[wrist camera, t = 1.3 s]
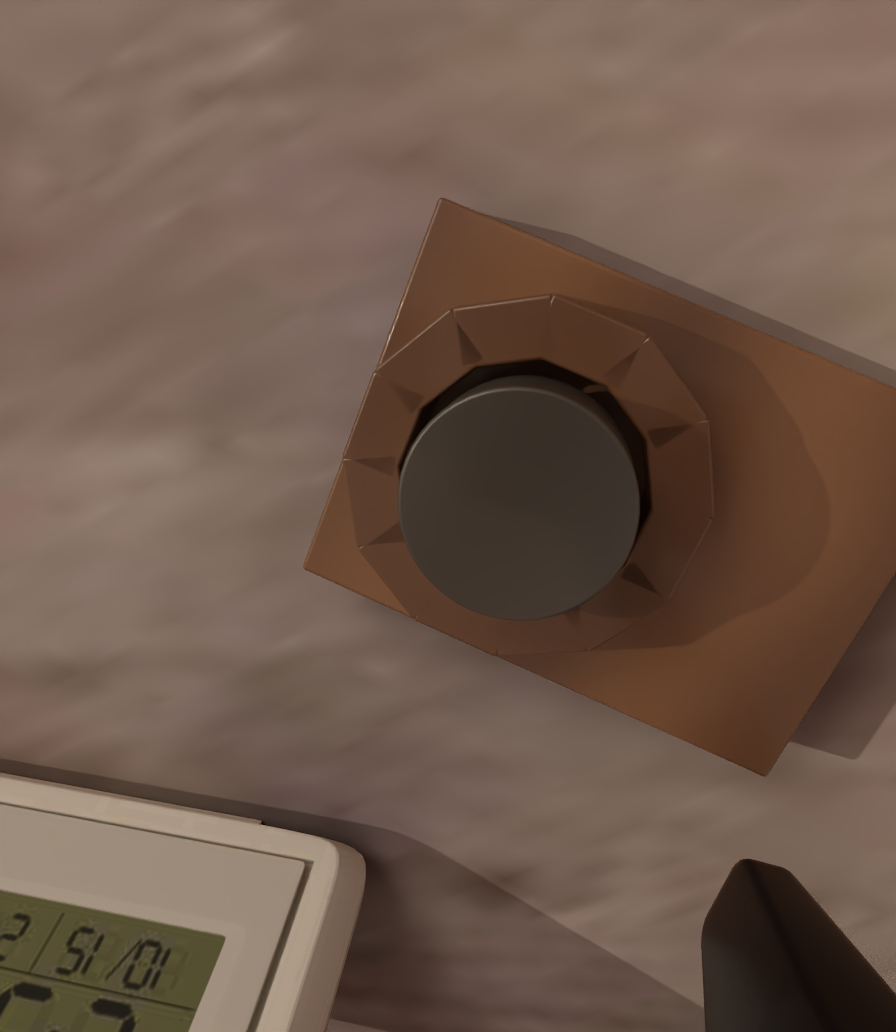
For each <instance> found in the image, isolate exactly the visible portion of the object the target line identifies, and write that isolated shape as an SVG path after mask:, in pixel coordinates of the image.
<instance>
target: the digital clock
mask: <svg viewBox="0 0 896 1032" xmlns="http://www.w3.org/2000/svg"><path fill="white" fill-rule="evenodd" d="M365 881H366V864H365V861H364V859H363V856H362V855H361V854H360V853H359V852H358V851H357V850H355V849H354V848H352V847H350V846H348V845H346V844H344V843H341V842H337V841H334V840H330V839H326V838H323V837H319V836H314V835H309V834H304V833H299V832H295V831H290V830H285V829H281V828H276V827H271V826H266V825H262V821H261V820H256V819H250V818H245V817H240V816H234V815H229V814H223V813H218V812H212V811H207V810H201V809H196V808H190V807H185V806H180V805H174V804H169V803H163V802H158V801H152V800H147V799H141V798H136V797H130V796H125V795H120V794H114V793H109V792H103V791H98V790H92V789H87V788H81V787H76V786H70V785H65V784H60V783H54V782H49V781H43V780H38V779H32V778H27V777H21V776H16V775H10V774H5V773H0V1032H326V1029H327V1025H328V1022H329V1018H330V1015H331V1011H332V1008H333V1004H334V1000H335V997H336V993H337V990H338V986H339V983H340V979H341V976H342V972H343V968H344V965H345V961H346V958H347V954H348V951H349V947H350V943H351V940H352V936H353V933H354V929H355V926H356V922H357V919H358V915H359V911H360V908H361V903H362V899H363V895H364V889H365Z"/></svg>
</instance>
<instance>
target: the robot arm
mask: <svg viewBox="0 0 896 1032" xmlns="http://www.w3.org/2000/svg"><path fill="white" fill-rule="evenodd" d="M701 950H702V970H703V990H704V1010H705V1031H706V1032H896V994H895V992H894V991H893V990H892V989H891V988H890V987H889V985H888V984H887V983H886V982H885V981H884V980H883V979H882V977H881V976H880V975H879V974H878V973H877V972H876V970H875V969H874V968H873V967H872V966H871V965H870V963H869V962H868V961H867V960H866V959H865V958H864V956H863V955H862V954H861V953H860V952H859V951H858V949H857V948H856V947H855V946H854V945H853V944H852V943H851V941H850V940H849V939H848V938H847V937H846V936H845V934H844V933H843V932H842V931H841V930H840V929H839V927H838V926H837V925H836V924H835V923H834V922H833V920H832V919H831V918H830V917H829V916H828V915H827V913H826V912H825V911H824V910H823V909H822V908H821V906H820V905H819V904H818V903H817V902H816V901H815V900H814V898H813V897H812V896H811V895H810V894H809V893H808V891H807V890H806V889H805V888H804V887H803V886H802V884H801V883H800V882H799V881H798V880H797V879H796V877H795V876H794V875H793V874H792V873H791V872H789V871H788V870H787V869H784V868H782V867H780V866H776V865H772V864H768V863H764V862H760V861H756V860H752V859H742V860H740V861H739V862H737V863H736V864H735V866H734V867H733V868H732V870H731V872H730V874H729V875H728V877H727V879H726V881H725V883H724V885H723V886H722V888H721V890H720V892H719V894H718V896H717V897H716V899H715V901H714V903H713V905H712V907H711V908H710V910H709V912H708V914H707V916H706V918H705V922H704V925H703V930H702V939H701Z"/></svg>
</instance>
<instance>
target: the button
mask: <svg viewBox="0 0 896 1032" xmlns="http://www.w3.org/2000/svg"><path fill="white" fill-rule="evenodd" d="M397 506H398V517H399V522H400V527H401V531H402V535H403V537H404V540H405V543H406V546H407V548H408V550H409V552H410V554H411V556H412V558H413V560H414V561H415V563H416V564H417V566H418V567H419V569H420V570H421V572H422V573H423V574H424V575H425V576H426V577H427V579H428V580H429V581H430V582H431V583H432V584H433V585H434V586H435V587H436V588H437V589H438V590H440V591H441V592H442V593H443V594H444V595H446V596H447V597H449V598H450V599H451V600H453V601H454V602H456V603H458V604H460V605H461V606H463V607H465V608H467V609H469V610H471V611H474V612H477V613H479V614H482V615H485V616H489V617H493V618H497V619H505V620H513V621H530V620H538V619H545V618H549V617H553V616H557V615H560V614H563V613H565V612H568V611H570V610H573V609H575V608H577V607H579V606H580V605H582V604H584V603H586V602H588V601H589V600H590V599H592V598H593V597H594V596H596V595H597V594H598V593H600V592H601V591H602V590H603V589H604V588H605V587H606V586H607V585H608V584H609V583H610V582H611V581H612V580H613V578H614V577H615V576H616V575H617V573H618V572H619V571H620V569H621V568H622V566H623V564H624V563H625V561H626V559H627V558H628V556H629V553H630V551H631V549H632V546H633V544H634V541H635V537H636V534H637V530H638V524H639V517H640V494H639V487H638V481H637V477H636V473H635V468H634V464H633V460H632V457H631V453H630V450H629V447H628V444H627V442H626V440H625V437H624V435H623V433H622V431H621V430H620V428H619V427H618V425H617V423H616V422H615V420H614V419H613V418H612V417H611V415H610V414H609V413H608V412H607V411H606V409H604V408H603V407H602V406H601V405H600V404H599V403H598V402H597V401H596V400H595V399H593V398H592V397H590V396H589V395H588V394H586V393H585V392H583V391H582V390H580V389H578V388H576V387H574V386H572V385H570V384H567V383H565V382H562V381H559V380H556V379H552V378H547V377H543V376H533V375H516V376H507V377H502V378H497V379H494V380H491V381H488V382H485V383H482V384H480V385H478V386H476V387H474V388H472V389H470V390H469V391H467V392H466V393H464V394H463V395H461V396H460V397H458V398H457V399H456V400H454V401H453V402H452V403H451V404H449V405H448V406H447V407H446V408H444V409H443V410H442V411H441V412H440V413H439V414H437V415H436V416H435V417H434V418H433V419H432V420H431V421H430V422H429V423H428V424H427V425H426V426H425V427H424V429H423V430H422V431H421V432H420V433H419V435H418V436H417V438H416V440H415V441H414V443H413V444H412V446H411V448H410V450H409V452H408V454H407V456H406V458H405V461H404V464H403V467H402V470H401V474H400V479H399V485H398V498H397Z"/></svg>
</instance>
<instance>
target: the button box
mask: <svg viewBox="0 0 896 1032" xmlns="http://www.w3.org/2000/svg"><path fill="white" fill-rule="evenodd" d="M516 375H533V376H543V377H547V378H552V379H556V380H559V381H562V382H565V383H567V384H570V385H572V386H574V387H576V388H578V389H580V390H582V391H583V392H585V393H586V394H588V395H589V396H590V397H592V398H593V399H595V400H596V401H597V402H598V403H599V404H600V405H601V406H602V407H603V408H604V409H606V411H607V412H608V413H609V414H610V415H611V417H612V418H613V419H614V420H615V422H616V423H617V425H618V427H619V428H620V430H621V431H622V433H623V435H624V437H625V440H626V442H627V444H628V447H629V450H630V453H631V457H632V460H633V464H634V468H635V473H636V477H637V481H638V487H639V494H640V517H639V524H638V530H637V534H636V537H635V541H634V544H633V546H632V549H631V551H630V553H629V556H628V558H627V559H626V561H625V563H624V564H623V566H622V568H621V569H620V571H619V572H618V573H617V575H616V576H615V577H614V578H613V580H612V581H611V582H610V583H609V584H608V585H607V586H606V587H605V588H604V589H603V590H602V591H601V592H600V593H598V594H597V595H596V596H594V597H593V598H592V599H590V600H589V601H588V602H586V603H584V604H582V605H580V606H579V607H577V608H575V609H573V610H570V611H568V612H565V613H563V614H560V615H557V616H553V617H549V618H545V619H538V620H530V621H513V620H505V619H497V618H493V617H489V616H485V615H482V614H479V613H477V612H474V611H471V610H469V609H467V608H465V607H463V606H461V605H460V604H458V603H456V602H454V601H453V600H451V599H450V598H449V597H447V596H446V595H444V594H443V593H442V592H441V591H440V590H438V589H437V588H436V587H435V586H434V585H433V584H432V583H431V582H430V581H429V580H428V579H427V577H426V576H425V575H424V574H423V573H422V572H421V570H420V569H419V567H418V566H417V564H416V563H415V561H414V560H413V558H412V556H411V554H410V552H409V550H408V548H407V546H406V543H405V540H404V537H403V535H402V531H401V527H400V522H399V517H398V506H397V498H398V485H399V479H400V474H401V470H402V467H403V464H404V461H405V458H406V456H407V454H408V452H409V450H410V448H411V446H412V444H413V443H414V441H415V440H416V438H417V436H418V435H419V433H420V432H421V431H422V430H423V429H424V427H425V426H426V425H427V424H428V423H429V422H430V421H431V420H432V419H433V418H434V417H435V416H436V415H437V414H439V413H440V412H441V411H442V410H443V409H444V408H446V407H447V406H448V405H449V404H451V403H452V402H453V401H454V400H456V399H457V398H458V397H460V396H461V395H463V394H464V393H466V392H467V391H469V390H470V389H472V388H474V387H476V386H478V385H480V384H482V383H485V382H488V381H491V380H494V379H497V378H502V377H507V376H516ZM304 569H305V570H307V571H310V572H312V573H314V574H316V575H318V576H321V577H323V578H325V579H327V580H330V581H332V582H334V583H336V584H338V585H341V586H343V587H345V588H347V589H349V590H352V591H354V592H356V593H358V594H361V595H363V596H365V597H367V598H369V599H372V600H374V601H376V602H378V603H380V604H383V605H385V606H387V607H389V608H392V609H394V610H396V611H398V612H400V613H403V614H405V615H407V616H409V617H411V618H414V619H415V620H416V621H418V622H420V623H423V624H425V625H427V626H429V627H432V628H434V629H436V630H438V631H440V632H443V633H445V634H447V635H449V636H451V637H454V638H456V639H458V640H460V641H463V642H465V643H467V644H469V645H471V646H474V647H476V648H478V649H480V650H483V651H485V652H487V653H489V654H491V655H494V656H498V657H500V658H502V659H505V660H507V661H509V662H511V663H513V664H516V665H518V666H520V667H522V668H525V669H527V670H529V671H531V672H533V673H536V674H538V675H540V676H542V677H544V678H547V679H549V680H551V681H553V682H556V683H558V684H560V685H562V686H564V687H567V688H569V689H571V690H573V691H575V692H578V693H580V694H582V695H584V696H587V697H589V698H591V699H593V700H595V701H598V702H600V703H602V704H604V705H607V706H609V707H611V708H613V709H615V710H618V711H620V712H622V713H624V714H626V715H629V716H631V717H633V718H635V719H638V720H640V721H642V722H644V723H646V724H649V725H651V726H653V727H655V728H657V729H660V730H662V731H664V732H666V733H669V734H671V735H673V736H675V737H677V738H680V739H682V740H684V741H686V742H689V743H691V744H693V745H695V746H697V747H700V748H702V749H704V750H706V751H708V752H711V753H713V754H715V755H717V756H720V757H722V758H724V759H726V760H728V761H731V762H733V763H735V764H737V765H739V766H742V767H744V768H746V769H748V770H751V771H753V772H755V773H757V774H759V775H762V776H767V775H768V773H769V772H770V770H771V769H772V767H773V765H774V764H775V762H776V761H777V759H778V758H779V756H780V754H781V753H782V751H783V750H784V748H785V747H786V745H787V743H788V742H789V740H790V739H791V737H792V736H793V734H794V732H795V731H796V729H797V728H798V726H799V725H800V723H801V721H802V720H803V718H804V717H805V715H806V713H807V712H808V710H809V709H810V707H811V706H812V704H813V702H814V701H815V699H816V698H817V696H818V695H819V693H820V691H821V690H822V688H823V687H824V685H825V684H826V682H827V680H828V679H829V677H830V676H831V674H832V673H833V671H834V669H835V668H836V666H837V665H838V663H839V662H840V660H841V658H842V657H843V655H844V654H845V652H846V651H847V649H848V647H849V646H850V644H851V643H852V641H853V640H854V638H855V636H856V635H857V633H858V632H859V630H860V629H861V627H862V625H863V624H864V622H865V621H866V619H867V617H868V616H869V614H870V613H871V611H872V610H873V608H874V606H875V605H876V603H877V602H878V600H879V599H880V597H881V595H882V594H883V592H884V591H885V589H886V588H887V586H888V584H889V583H890V581H891V580H892V578H893V577H894V575H895V573H896V389H895V388H893V387H890V386H888V385H886V384H883V383H881V382H878V381H876V380H874V379H871V378H869V377H867V376H864V375H862V374H859V373H857V372H855V371H852V370H850V369H848V368H845V367H843V366H841V365H838V364H836V363H833V362H831V361H829V360H826V359H824V358H822V357H819V356H817V355H815V354H812V353H810V352H807V351H805V350H803V349H800V348H798V347H796V346H793V345H791V344H789V343H786V342H784V341H781V340H779V339H777V338H774V337H772V336H770V335H767V334H765V333H762V332H760V331H758V330H755V329H753V328H751V327H748V326H746V325H744V324H741V323H739V322H736V321H734V320H732V319H729V318H727V317H725V316H722V315H720V314H718V313H715V312H713V311H710V310H708V309H706V308H703V307H701V306H699V305H696V304H694V303H691V302H689V301H687V300H684V299H682V298H680V297H677V296H675V295H673V294H670V293H668V292H665V291H663V290H661V289H658V288H656V287H654V286H651V285H649V284H647V283H644V282H642V281H639V280H637V279H635V278H632V277H630V276H628V275H625V274H623V273H620V272H618V271H616V270H613V269H611V268H609V267H606V266H604V265H602V264H599V263H597V262H594V261H592V260H590V259H587V258H585V257H583V256H580V255H578V254H576V253H573V252H571V251H568V250H566V249H564V248H561V247H559V246H557V245H554V244H552V243H549V242H547V241H545V240H542V239H540V238H538V237H535V236H533V235H531V234H528V233H526V232H523V231H521V230H519V229H516V228H514V227H512V226H509V225H507V224H505V223H502V222H500V221H497V220H495V219H493V218H490V217H488V216H486V215H483V214H481V213H478V212H476V211H474V210H471V209H469V208H467V207H464V206H462V205H460V204H457V203H455V202H452V201H450V200H448V199H445V198H440V199H439V200H438V202H437V205H436V207H435V210H434V213H433V216H432V218H431V221H430V224H429V226H428V229H427V232H426V235H425V237H424V240H423V243H422V245H421V248H420V251H419V253H418V256H417V259H416V262H415V264H414V267H413V270H412V272H411V275H410V278H409V281H408V283H407V286H406V289H405V291H404V294H403V297H402V299H401V302H400V305H399V308H398V310H397V313H396V316H395V318H394V321H393V324H392V327H391V329H390V332H389V335H388V337H387V340H386V343H385V346H384V348H383V351H382V354H381V356H380V359H379V362H378V364H377V367H376V370H375V371H374V372H373V374H372V377H371V380H370V382H369V385H368V388H367V390H366V393H365V396H364V399H363V401H362V404H361V407H360V409H359V412H358V415H357V418H356V420H355V423H354V426H353V428H352V431H351V434H350V437H349V439H348V442H347V445H346V447H345V450H344V453H343V459H342V462H341V465H340V467H339V470H338V473H337V475H336V478H335V481H334V484H333V486H332V489H331V492H330V494H329V497H328V500H327V503H326V505H325V508H324V511H323V513H322V516H321V519H320V521H319V524H318V527H317V530H316V532H315V535H314V538H313V540H312V543H311V546H310V549H309V551H308V554H307V557H306V559H305V562H304Z"/></svg>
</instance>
